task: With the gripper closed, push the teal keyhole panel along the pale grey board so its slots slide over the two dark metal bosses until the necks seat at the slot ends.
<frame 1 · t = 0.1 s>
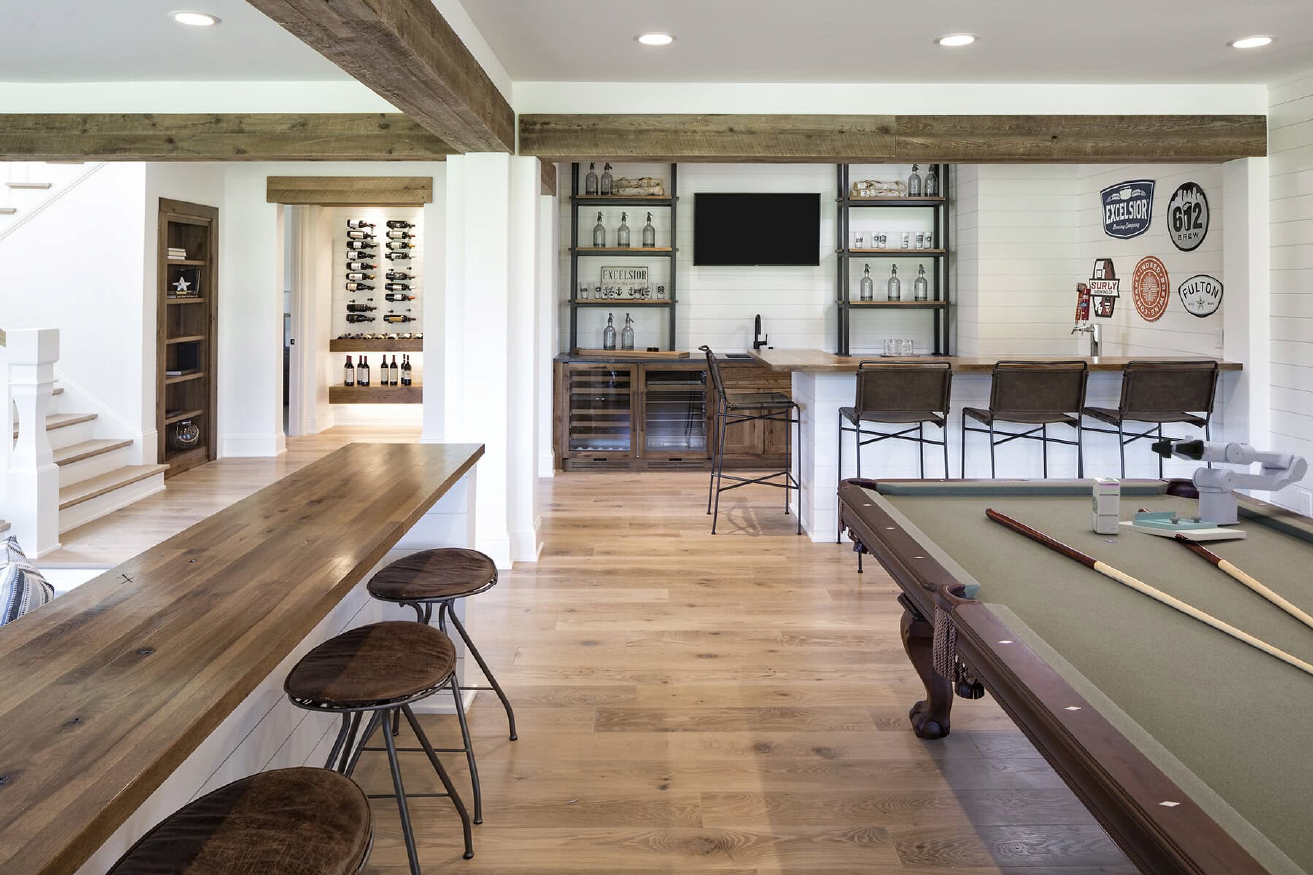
hand: (1164, 447, 252), 23 cm above the table, tool horizontal, fingers open, 7 cm apart
syrup box: (1104, 531, 251), on the table
boss board: (1175, 532, 250), on the table
panel: (1174, 520, 251), point 3 cm above the table, slide at 0.0 cm
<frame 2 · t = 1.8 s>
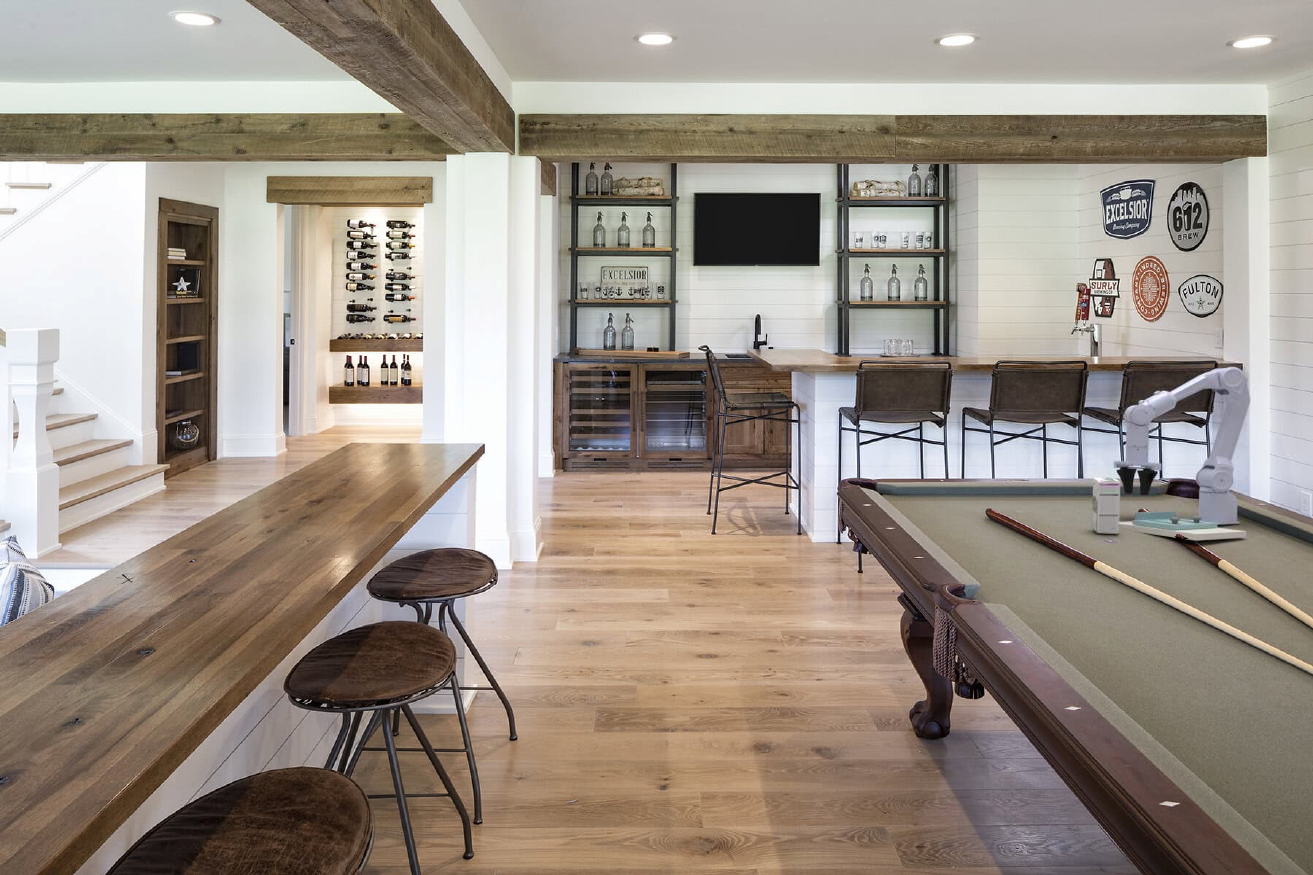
hand: (1136, 494, 262), 9 cm above the table, tool pointing down, fingers open, 5 cm apart
nothing on the table moved.
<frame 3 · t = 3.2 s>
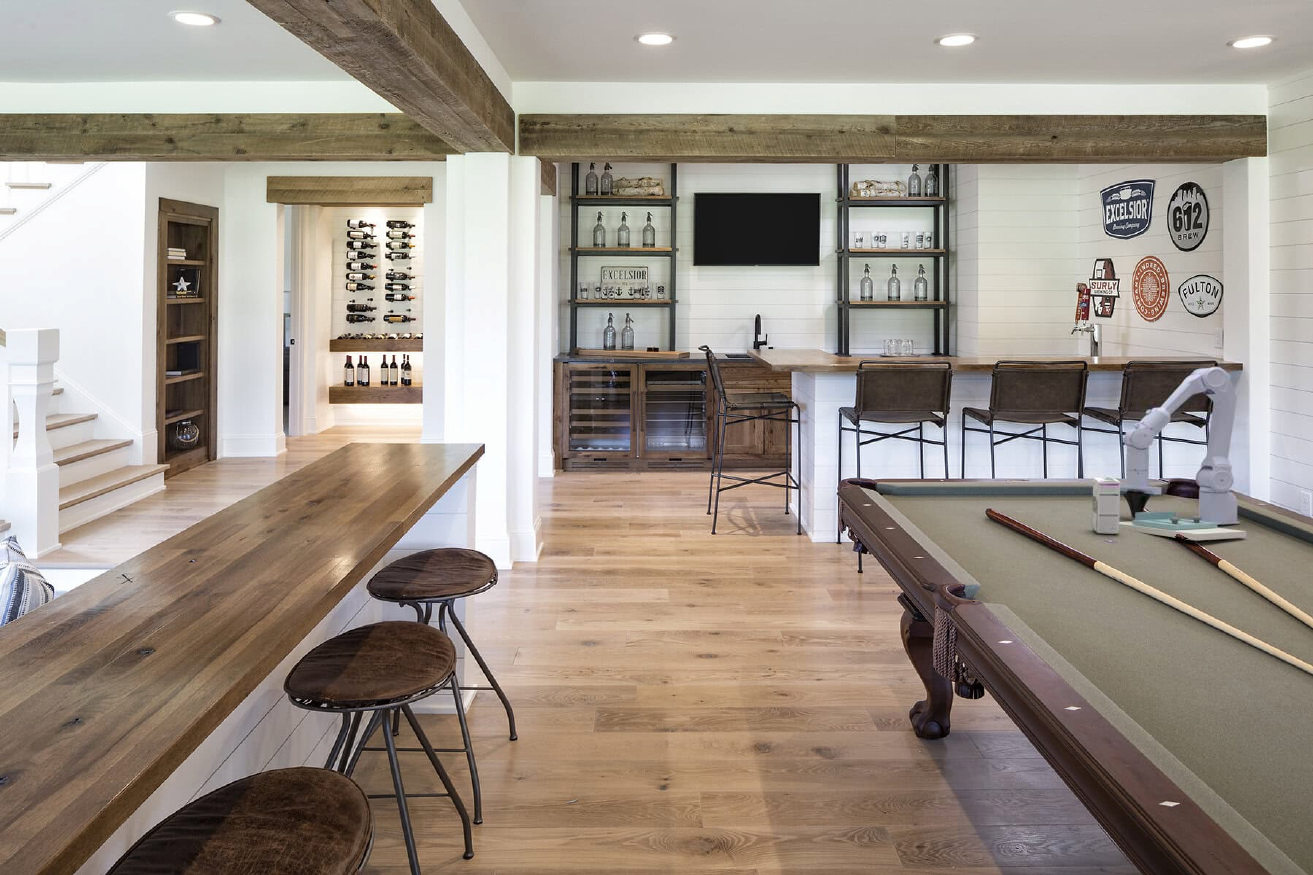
hand: (1136, 517, 262), 3 cm above the table, tool pointing down, fingers closed
nothing on the table moved.
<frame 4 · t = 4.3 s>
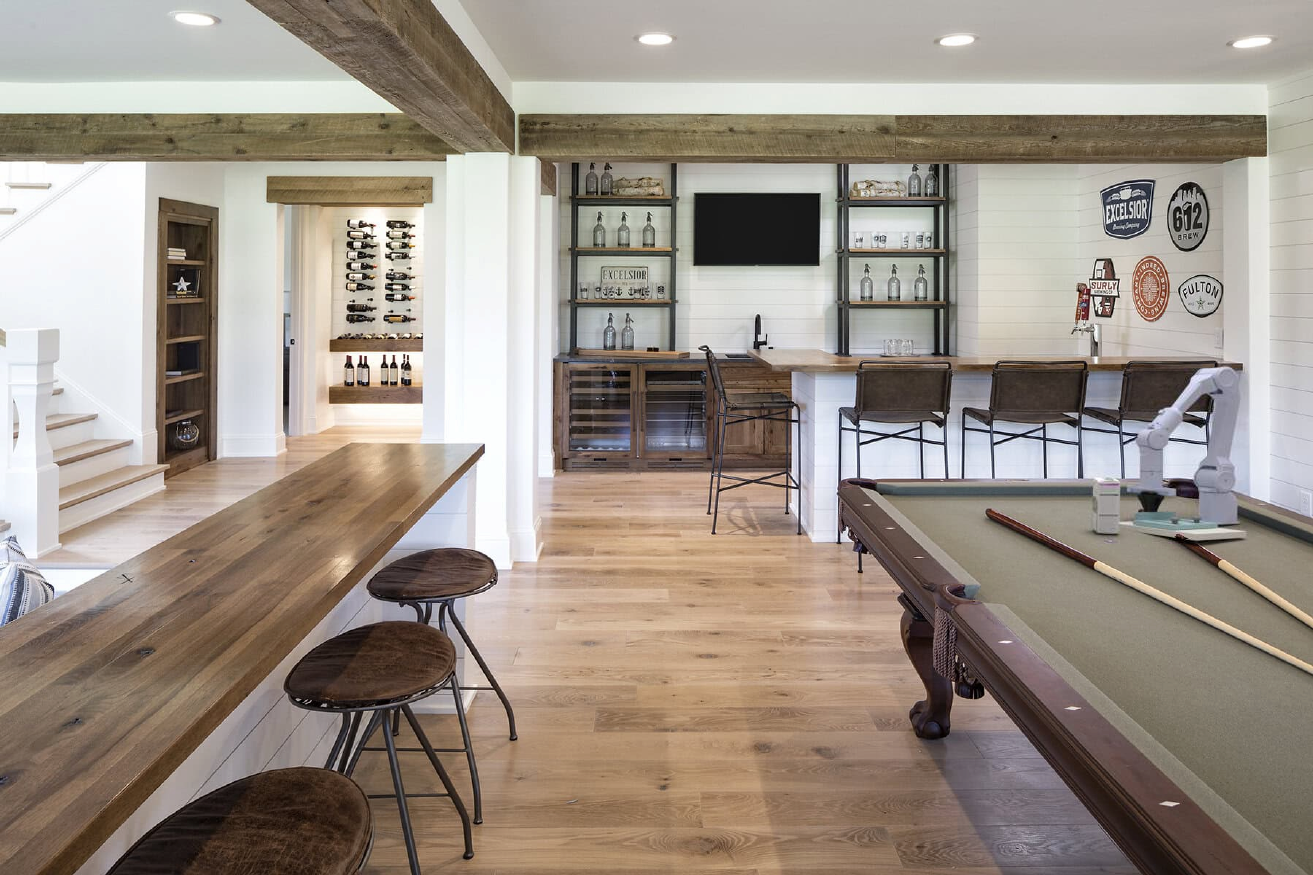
hand: (1150, 519, 258), 3 cm above the table, tool pointing down, fingers closed
panel: (1174, 520, 251), point 3 cm above the table, slide at 0.1 cm, touching gripper
everything else where it was.
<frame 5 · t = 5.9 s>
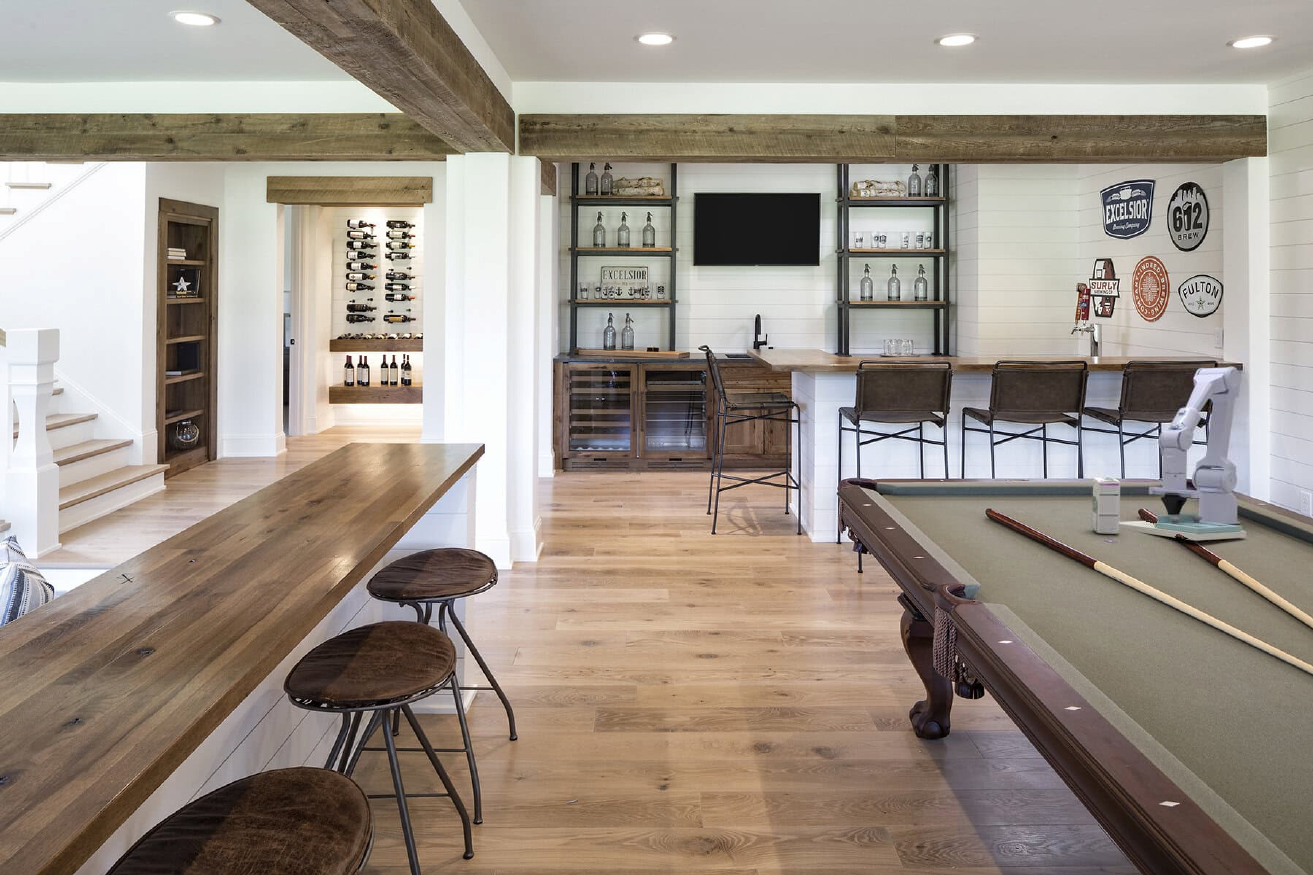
hand: (1173, 522, 251), 3 cm above the table, tool pointing down, fingers closed
panel: (1197, 523, 244), point 3 cm above the table, slide at 7.1 cm, touching gripper
everything else where it was.
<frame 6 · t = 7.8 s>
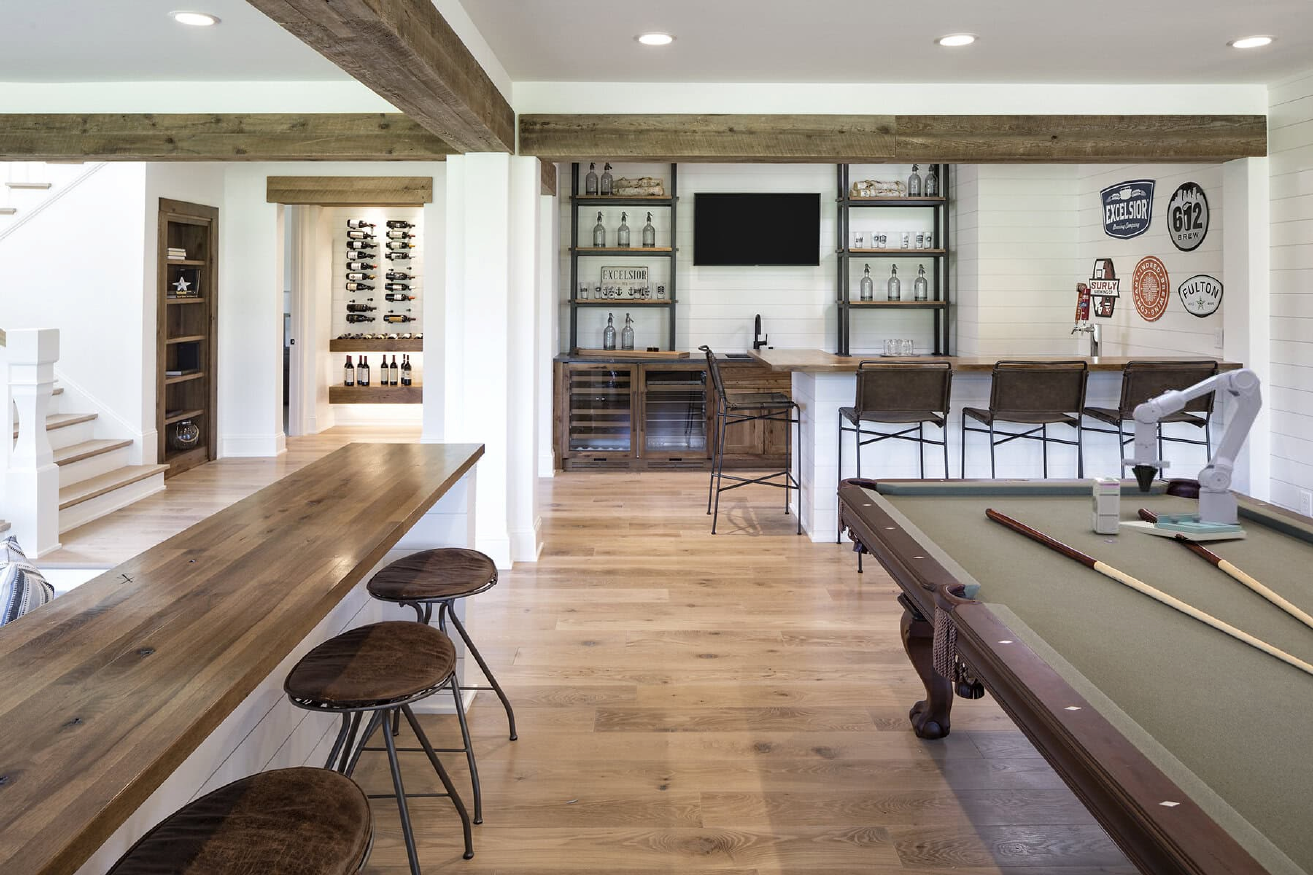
hand: (1144, 491, 264), 10 cm above the table, tool pointing down, fingers closed
panel: (1197, 523, 244), point 3 cm above the table, slide at 7.0 cm
everything else where it was.
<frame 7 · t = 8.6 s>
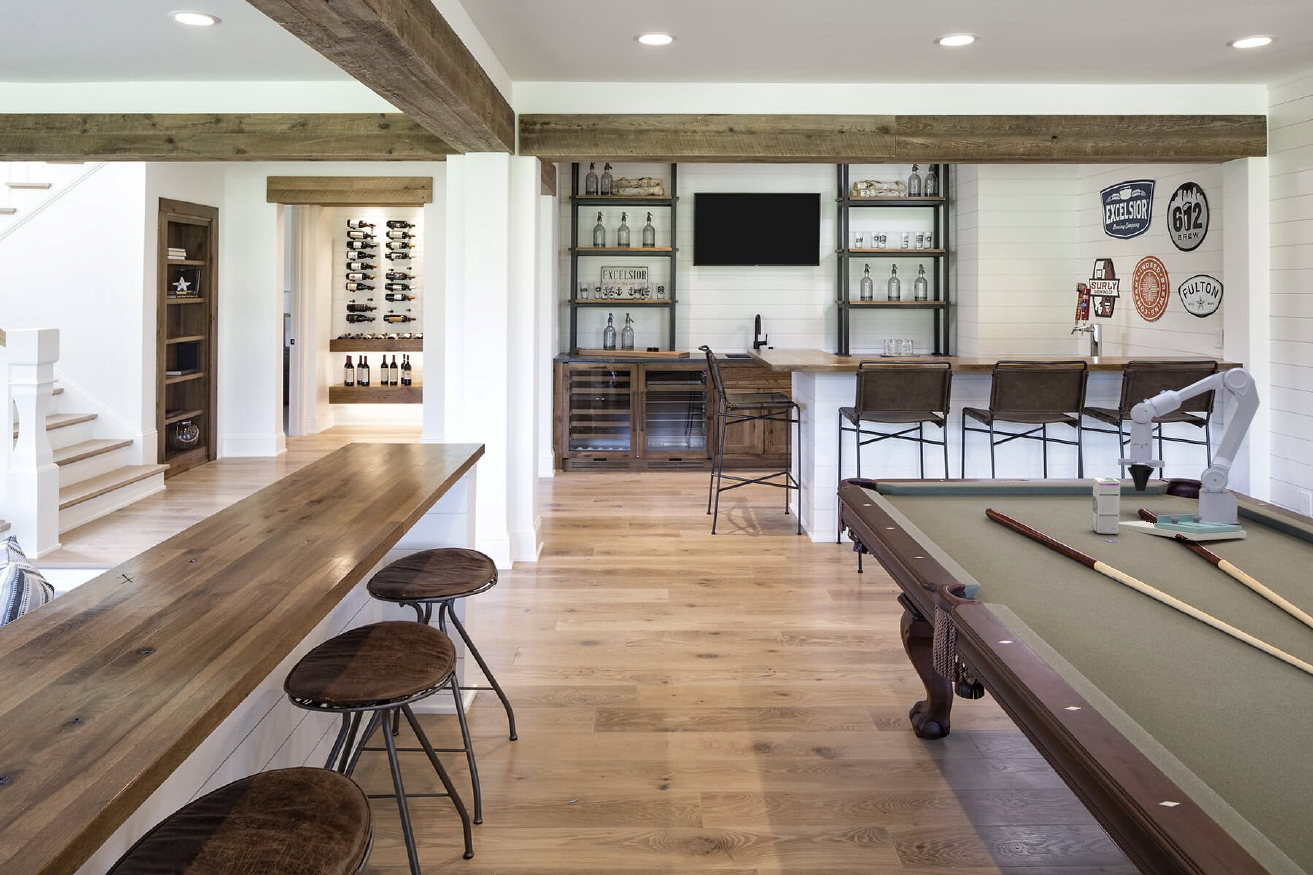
hand: (1140, 490, 268), 10 cm above the table, tool pointing down, fingers closed
nothing on the table moved.
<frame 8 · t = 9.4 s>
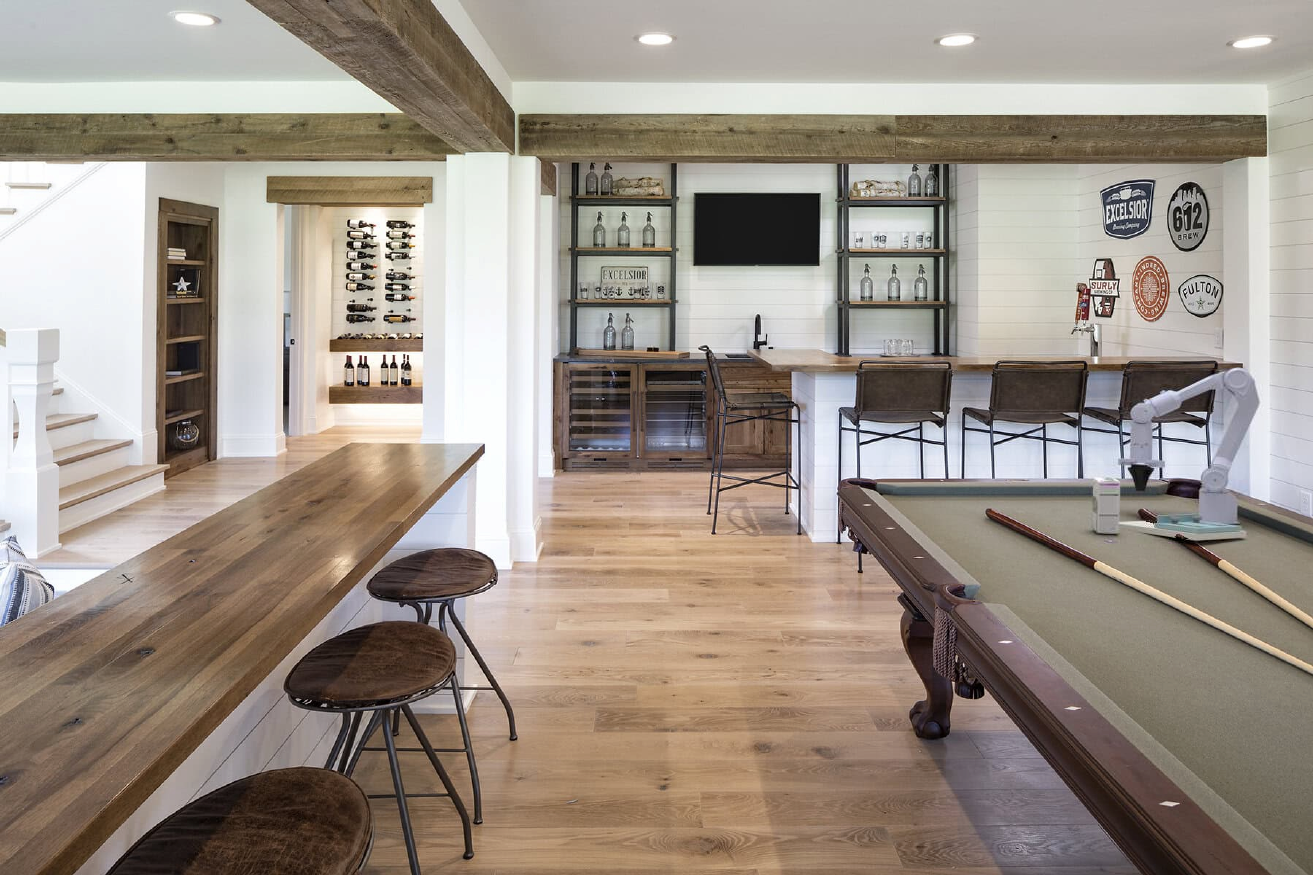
hand: (1140, 490, 268), 10 cm above the table, tool pointing down, fingers closed
nothing on the table moved.
at the end: panel slide at 7.0 cm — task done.
